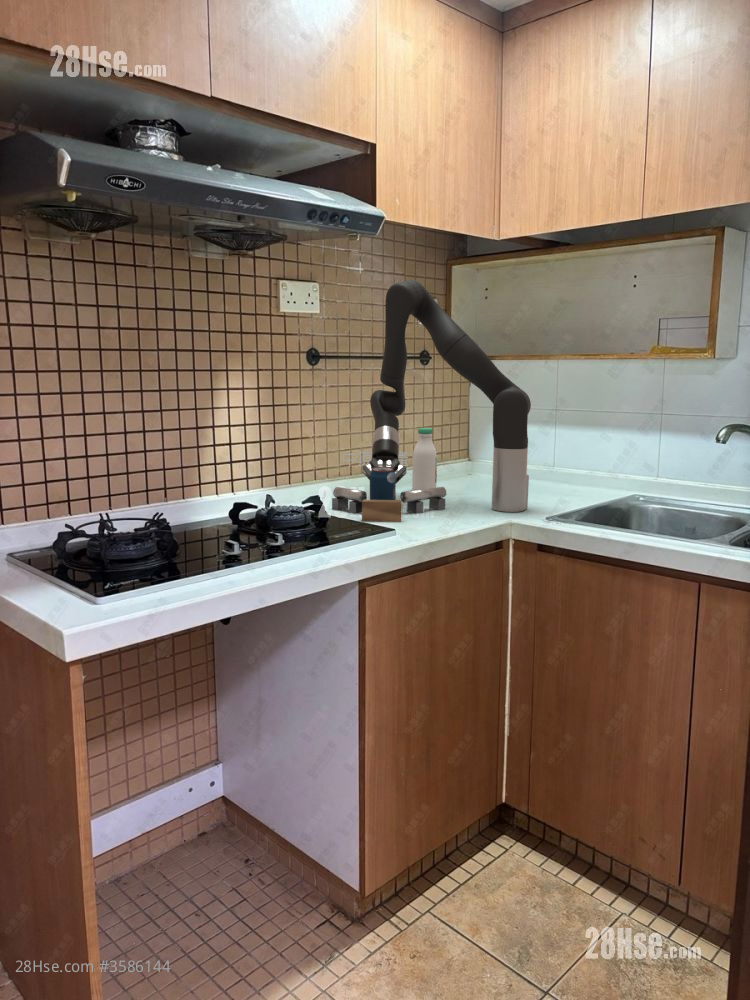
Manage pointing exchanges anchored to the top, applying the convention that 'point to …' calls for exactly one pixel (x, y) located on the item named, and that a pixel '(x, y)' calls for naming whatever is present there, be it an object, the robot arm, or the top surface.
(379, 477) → the soda can
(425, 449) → the milk bottle
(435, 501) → the shaft
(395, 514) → the block
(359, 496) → the shaft
